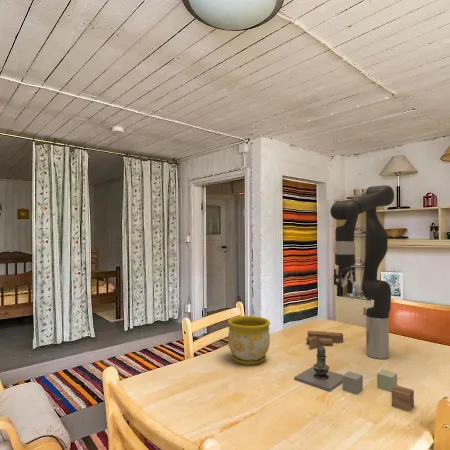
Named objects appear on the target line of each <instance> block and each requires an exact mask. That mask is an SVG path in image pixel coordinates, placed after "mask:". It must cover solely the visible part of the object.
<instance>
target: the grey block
mask: <svg viewBox="0 0 450 450" xmlns="http://www.w3.org/2000/svg"><path fill="white" fill-rule="evenodd" d="M342 375H343V383H342V390H343V391H345V392H348V393H351V394H354V395H358V394H360V392H362V391H363V390H364V378H363V377H364V376H363V374H359V373H355V372H352V371H347V372H346V373H344V374H342Z"/></svg>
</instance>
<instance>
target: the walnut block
mask: <svg viewBox="0 0 450 450" xmlns="http://www.w3.org/2000/svg"><path fill="white" fill-rule="evenodd" d="M414 406H415V390H414V389H411V388H409V387H405V386H402V385H398V384H397V385H396V386H395V387H394V388H393V389H392V392H391V407H394V408H397V409H400V410H403V411H405V412H408V411H409V412H410V411H411V410H412V409H413V408H414Z"/></svg>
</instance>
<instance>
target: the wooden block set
mask: <svg viewBox="0 0 450 450" xmlns="http://www.w3.org/2000/svg"><path fill="white" fill-rule="evenodd" d="M340 342H341V343H343V342H344V334H343V332H329V331H327V332H326V331H317V330H308V331H307V337H306V344H307V345H309V350H310V351H311V350H314V349H315V350H316V349H317V348H318V347H319V346H321V344H322V346H330V345H331V346H333V344H341V343H340Z"/></svg>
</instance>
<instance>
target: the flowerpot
mask: <svg viewBox="0 0 450 450" xmlns="http://www.w3.org/2000/svg"><path fill="white" fill-rule="evenodd" d="M227 320H228V321H227V324H228V335H227V336H228V337H227V342H228V347H229V350H230V352H231V354H232V355H231V356H232V357H231V358H232V359H234V361H235V362H236V363H238V364H241V365H246V366H254V365H255V366H256V365H259V364H261V363H263V362H264V361H265V359H266V354H267V353H268V352H269V349H270V343H271V340H270V339H271V338H270V337H271V336H270V327H269V326H270V325H271V321H270V320H269V319H268V318H265V317H261V316H254V315H241V316H234V317H231V318H229V319H227Z"/></svg>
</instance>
